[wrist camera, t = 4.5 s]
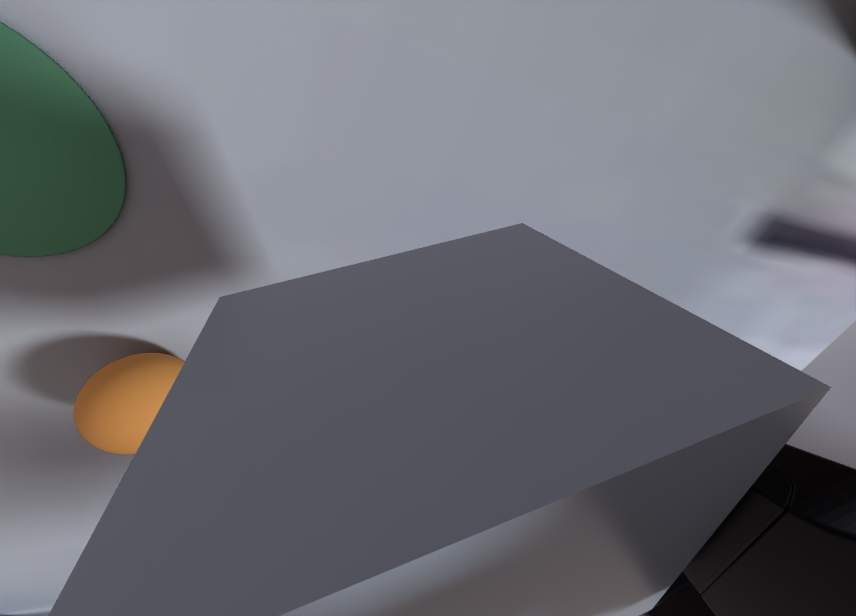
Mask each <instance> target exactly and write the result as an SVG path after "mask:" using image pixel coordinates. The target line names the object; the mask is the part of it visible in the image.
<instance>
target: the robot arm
mask: <svg viewBox="0 0 856 616" xmlns="http://www.w3.org/2000/svg"><path fill="white" fill-rule="evenodd" d="M643 614H644V615H645V616H856V469H854V468H851V467H849V466H846V465H843V464H840V463H837V462H835V461H832V460H829V459H826V458H824V457H821V456H818V455H815V454H812V453H810V452H807V451H804V450H801V449H798V448H796V447H793V446H790V445H787V444H785V445H784V446H783V447H782V449H781V450H780V451H779V452H778V454H777V455H776V456H775V457H774V459H773V460H772V461H771V462H770V464H769V465H768V466H767V467H766V468H765V470H764V471H763V472H762V473H761V475H760V476H759V477H758V478H757V480H756V481H755V482H754V483H753V485H752V486H751V487H750V488H749V490H748V491H747V492H746V493H745V494H744V496H743V497H742V498H741V499H740V501H739V502H738V503H737V504H736V506H735V507H734V508H733V509H732V511H731V512H730V513H729V514H728V516H727V517H726V518H725V519H724V520H723V522H722V523H721V524H720V525H719V527H718V528H717V529H716V530H715V532H714V533H713V534H712V535H711V537H710V538H709V539H708V540H707V542H706V543H705V544H704V545H703V546H702V548H701V549H700V550H699V551H698V553H697V554H696V555H695V556H694V558H693V559H692V560H691V561H690V563H689V564H688V565H687V566H686V568H685V569H684V570H683V571H682V572H681V574H680V575H679V576H678V577H677V579H676V580H675V581H674V582H673V584H672V585H671V586H670V587H669V589H668V590H667V591H666V592H665V594H664V595H663V596H662V597H661V598H660V600H659V601H658V602H657V603H656V605H655V606H654V607H653V608H652V609H651V610H649V611H647V612H645V613H643ZM643 614H641V615H639V616H642V615H643Z"/></svg>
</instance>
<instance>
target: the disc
mask: <svg viewBox="0 0 856 616" xmlns="http://www.w3.org/2000/svg"><path fill="white" fill-rule="evenodd" d="M125 194H126V175H125V167H124V163H123V159H122V155H121V152H120V149H119V147H118V144H117V142H116V140H115V137H114V135H113V133H112V131H111V130H110V128H109V126H108V124H107V122H106V120H105V119H104V117H103V116H102V114H101V113H100V111H99V110H98V108H97V107H96V106H95V104H94V103H93V101H92V100H91V99H90V98H89V97H88V95H87V94H86V93H85V92H84V91H83V89H82V88H81V87H80V86H79V85H78V84H77V83H76V82H75V80H74V79H73V78H72V77H71V76H70V75H69V74H68V73H67V72H66V71H65V70H64V69H63V68H62V67H61V66H59V65H58V64H57V63H56V62H55V61H54V60H53V59H51V58H50V57H49V56H48V55H47V54H46V53H44V52H43V51H42V50H41V49H40V48H38V47H37V46H35V45H34V44H33V43H31V42H30V41H29V40H27V39H26V38H25V37H23V36H22V35H21V34H19V33H18V32H16V31H15V30H13V29H11V28H10V27H8V26H7V25H5V24H3V23H2V22H0V255H8V256H28V257H30V256H47V255H53V254H59V253H64V252H68V251H71V250H74V249H77V248H80V247H82V246H84V245H86V244H89V243H90V242H92V241H93V240H95V239H97V238H98V237H100V236H101V235H102V234H104V233H105V232H106V231H107V230H108V229H109V228H110V227H111V226H112V224H113V223H114V222H115V220H116V219H117V217H118V215H119V213H120V211H121V209H122V207H123V203H124V199H125Z"/></svg>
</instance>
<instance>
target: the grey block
mask: <svg viewBox="0 0 856 616" xmlns="http://www.w3.org/2000/svg"><path fill="white" fill-rule="evenodd" d="M830 388H831V387H829V386H828V385H826V384H824V383H822V382H820V381H818V380H817V379H815V378H813V377H811V376H809V375H807V374H805V373H803V372H801V371H800V370H798V369H796V368H794V367H792V366H790V365H788V364H786V363H785V362H783V361H781V360H779V359H777V358H775V357H773V356H771V355H769V354H768V353H766V352H764V351H762V350H760V349H758V348H756V347H754V346H753V345H751V344H749V343H747V342H745V341H743V340H741V339H739V338H737V337H736V336H734V335H732V334H730V333H728V332H726V331H724V330H722V329H721V328H719V327H717V326H715V325H713V324H711V323H709V322H707V321H706V320H704V319H702V318H700V317H698V316H696V315H694V314H692V313H690V312H689V311H687V310H685V309H683V308H681V307H679V306H677V305H675V304H674V303H672V302H670V301H668V300H666V299H664V298H662V297H660V296H658V295H657V294H655V293H653V292H651V291H649V290H647V289H645V288H643V287H642V286H640V285H638V284H636V283H634V282H632V281H630V280H628V279H627V278H625V277H623V276H621V275H619V274H617V273H615V272H613V271H611V270H610V269H608V268H606V267H604V266H602V265H600V264H598V263H596V262H595V261H593V260H591V259H589V258H587V257H585V256H583V255H581V254H579V253H578V252H576V251H574V250H572V249H570V248H568V247H566V246H564V245H563V244H561V243H559V242H557V241H555V240H553V239H551V238H549V237H547V236H546V235H544V234H542V233H540V232H538V231H536V230H534V229H532V228H531V227H529V226H527V225H525V224H523V223H521V224H517V225H513V226H509V227H505V228H501V229H497V230H493V231H489V232H484V233H480V234H476V235H472V236H468V237H464V238H460V239H456V240H452V241H448V242H444V243H440V244H435V245H431V246H427V247H423V248H419V249H415V250H411V251H407V252H403V253H399V254H395V255H390V256H386V257H382V258H378V259H374V260H370V261H366V262H362V263H358V264H354V265H350V266H345V267H341V268H337V269H333V270H329V271H325V272H321V273H317V274H313V275H309V276H305V277H301V278H296V279H292V280H288V281H284V282H280V283H276V284H272V285H268V286H264V287H260V288H256V289H251V290H247V291H243V292H239V293H235V294H231V295H227V296H223V297H220V298H219V300H218V301H217V303H216V305H215V307H214V309H213V311H212V313H211V314H210V316H209V318H208V320H207V322H206V324H205V326H204V327H203V329H202V331H201V333H200V335H199V337H198V339H197V340H196V342H195V344H194V346H193V348H192V350H191V352H190V353H189V355H188V357H187V359H186V361H185V363H184V365H183V366H182V368H181V370H180V372H179V374H178V376H177V378H176V379H175V381H174V383H173V385H172V387H171V389H170V391H169V392H168V394H167V396H166V398H165V400H164V402H163V404H162V405H161V407H160V409H159V411H158V413H157V415H156V417H155V418H154V420H153V422H152V424H151V426H150V428H149V430H148V431H147V433H146V435H145V437H144V439H143V441H142V443H141V445H140V446H139V448H138V450H137V452H136V454H135V456H134V458H133V459H132V461H131V463H130V465H129V467H128V469H127V471H126V472H125V474H124V476H123V478H122V480H121V482H120V484H119V485H118V487H117V489H116V491H115V493H114V495H113V497H112V498H111V500H110V502H109V504H108V506H107V508H106V510H105V511H104V513H103V515H102V517H101V519H100V521H99V523H98V524H97V526H96V528H95V530H94V532H93V534H92V536H91V537H90V539H89V541H88V543H87V545H86V547H85V549H84V550H83V552H82V554H81V556H80V558H79V560H78V562H77V563H76V565H75V567H74V569H73V571H72V573H71V575H70V576H69V578H68V580H67V582H66V584H65V586H64V588H63V590H62V591H61V593H60V595H59V597H58V599H57V601H56V603H55V604H54V606H53V608H52V610H51V612H50V614H49V616H639V615H641V614H643V613H645V612H647V611H649V610H651V609H652V608H653V607H654V606H655V605H656V603H657V602H658V601H659V600H660V598H661V597H662V596H663V595H664V594H665V592H666V591H667V590H668V589H669V587H670V586H671V585H672V584H673V582H674V581H675V580H676V579H677V577H678V576H679V575H680V574H681V572H682V571H683V570H684V569H685V568H686V566H687V565H688V564H689V563H690V561H691V560H692V559H693V558H694V556H695V555H696V554H697V553H698V551H699V550H700V549H701V548H702V546H703V545H704V544H705V543H706V542H707V540H708V539H709V538H710V537H711V535H712V534H713V533H714V532H715V530H716V529H717V528H718V527H719V525H720V524H721V523H722V522H723V520H724V519H725V518H726V517H727V516H728V514H729V513H730V512H731V511H732V509H733V508H734V507H735V506H736V504H737V503H738V502H739V501H740V499H741V498H742V497H743V496H744V494H745V493H746V492H747V491H748V490H749V488H750V487H751V486H752V485H753V483H754V482H755V481H756V480H757V478H758V477H759V476H760V475H761V473H762V472H763V471H764V470H765V468H766V467H767V466H768V465H769V464H770V462H771V461H772V460H773V459H774V457H775V456H776V455H777V454H778V452H779V451H780V450H781V449H782V447H783V446H784V445H785V444H786V442H787V441H788V440H789V439H790V437H791V436H792V435H793V434H794V432H795V431H796V430H797V429H798V428H799V426H800V425H801V424H802V423H803V421H804V420H805V419H806V418H807V416H808V415H809V414H810V412H811V411H812V410H813V409H814V408H815V407H816V405H817V404H818V403H819V402H820V400H821V399H822V398H823V397H824V395H825V394H826V393H827V391H828V390H829V389H830Z"/></svg>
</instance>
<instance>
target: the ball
mask: <svg viewBox="0 0 856 616" xmlns="http://www.w3.org/2000/svg"><path fill="white" fill-rule="evenodd" d="M184 363H185V361H183V360H182V359H179V358H177V357H174V356H171V355H167V354H161V353H142V354H135V355H130V356H127V357H124V358H121V359H118V360H116V361H114V362H112V363H110V364H108V365H106V366H104V367H103V368H101V369H100V370H99V371H97V372H96V373H95V374H94V375H93V376H91V377H90V378H89V379H88V381H87V382H86V383H85V384H84V386H83V387H82V388H81V390H80V392H79V394H78V396H77V398H76V402H75V406H74V421H75V424H76V427H77V429H78V431H79V433H80V434H81V435H82V437H83V438H84V439H85V440H86V441H87V442H88V443H90V444H91V445H93V446H94V447H96V448H98V449H100V450H103V451H106V452H110V453H115V454H136V452H137V450H138V448H139V446H140V445H141V443H142V441H143V439H144V437H145V435H146V433H147V431H148V430H149V428H150V426H151V424H152V422H153V420H154V418H155V417H156V415H157V413H158V411H159V409H160V407H161V405H162V404H163V402H164V400H165V398H166V396H167V394H168V392H169V391H170V389H171V387H172V385H173V383H174V381H175V379H176V378H177V376H178V374H179V372H180V370H181V368H182V366H183V365H184Z"/></svg>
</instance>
